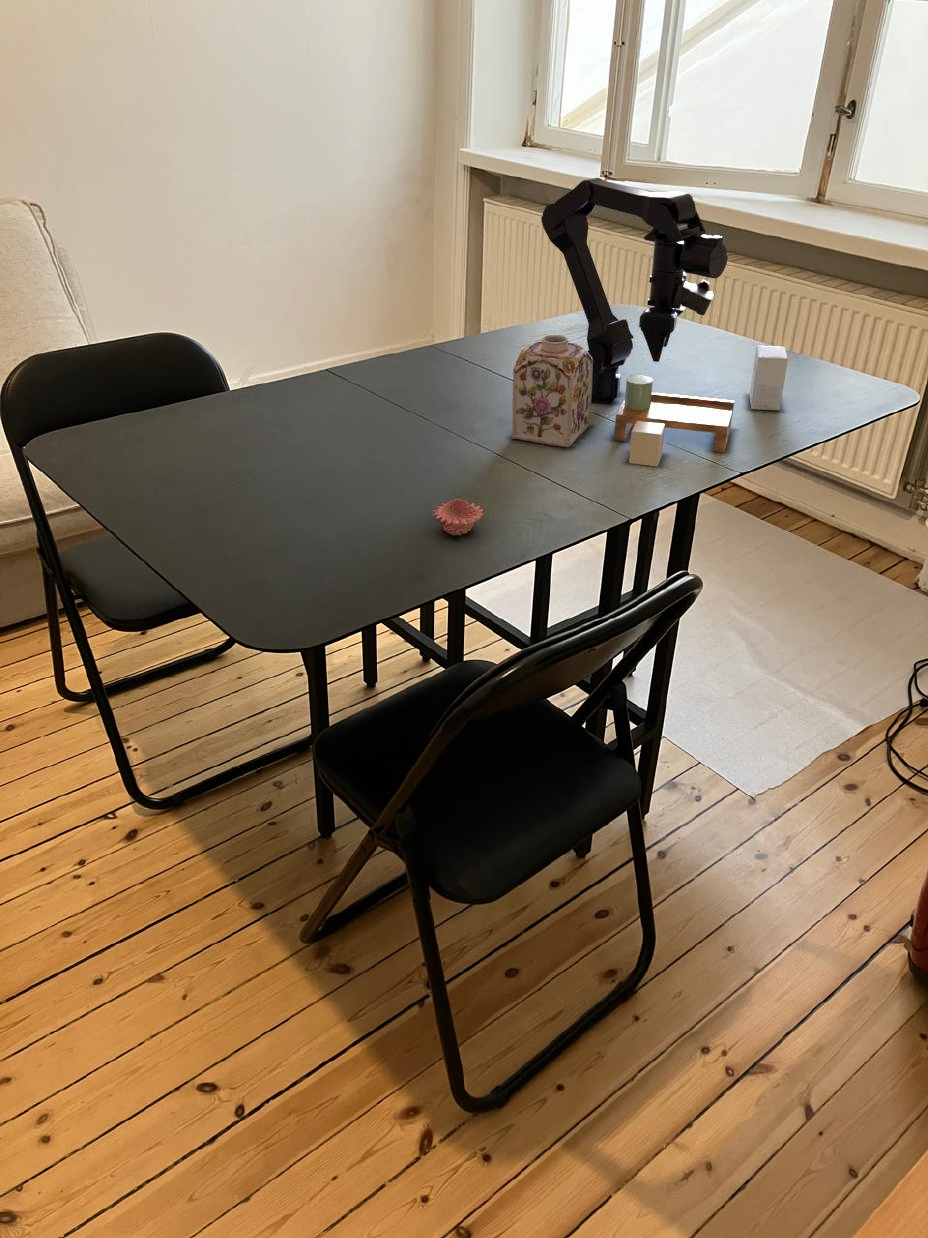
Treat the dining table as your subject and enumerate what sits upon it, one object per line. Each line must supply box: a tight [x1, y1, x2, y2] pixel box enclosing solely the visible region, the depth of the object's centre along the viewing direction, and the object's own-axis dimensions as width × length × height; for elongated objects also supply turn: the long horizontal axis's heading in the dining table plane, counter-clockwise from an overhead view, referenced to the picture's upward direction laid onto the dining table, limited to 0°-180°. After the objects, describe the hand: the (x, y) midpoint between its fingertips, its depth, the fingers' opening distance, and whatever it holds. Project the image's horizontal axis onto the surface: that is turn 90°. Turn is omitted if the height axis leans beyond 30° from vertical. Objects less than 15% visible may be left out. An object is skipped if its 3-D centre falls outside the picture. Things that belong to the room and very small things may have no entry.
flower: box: [432, 498, 485, 536], centre depth 154 cm, size 8×8×6 cm
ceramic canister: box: [624, 374, 654, 410], centre depth 185 cm, size 5×5×5 cm
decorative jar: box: [511, 334, 594, 448], centre depth 184 cm, size 12×12×18 cm
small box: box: [749, 344, 789, 411], centre depth 197 cm, size 8×6×10 cm
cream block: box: [628, 421, 666, 467], centre depth 176 cm, size 5×5×6 cm
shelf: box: [613, 392, 735, 453], centre depth 185 cm, size 20×11×6 cm, turn 72°
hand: (660, 353), depth 189 cm, fingers open, 9 cm apart
